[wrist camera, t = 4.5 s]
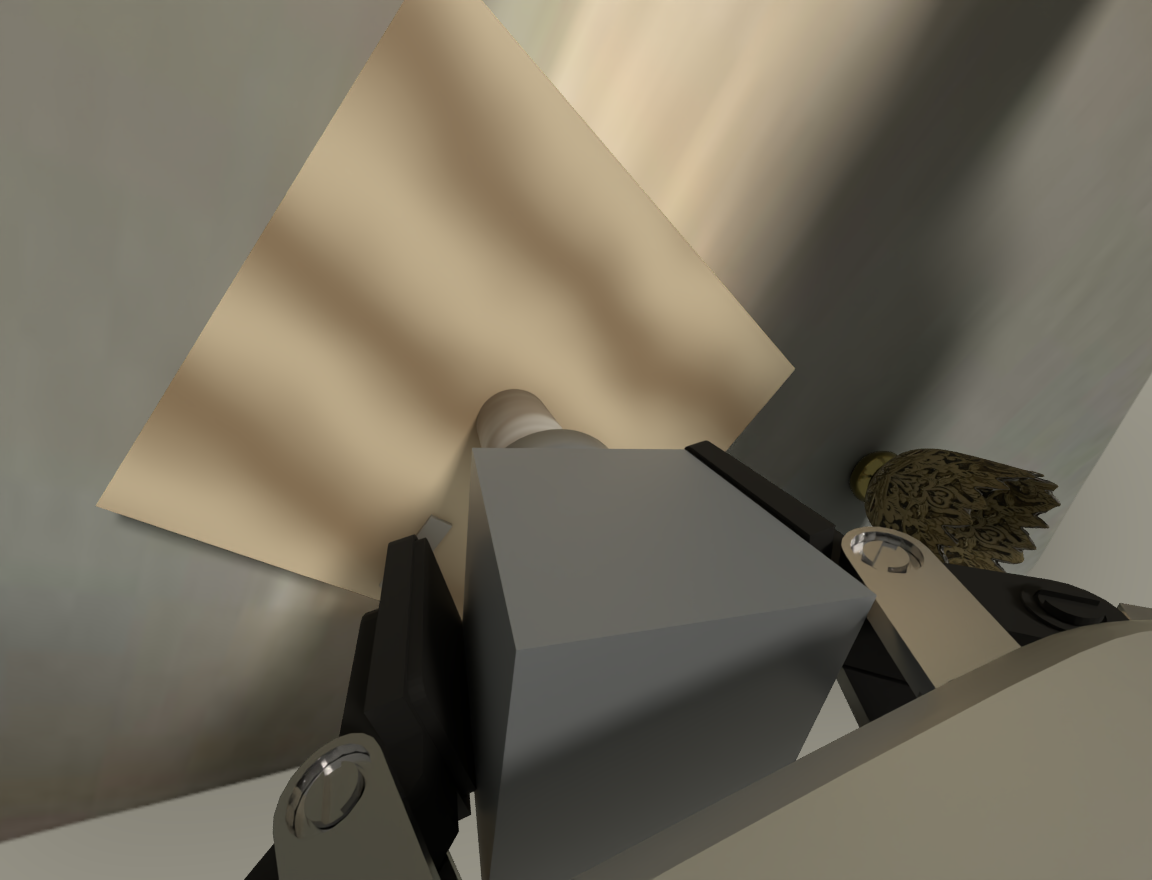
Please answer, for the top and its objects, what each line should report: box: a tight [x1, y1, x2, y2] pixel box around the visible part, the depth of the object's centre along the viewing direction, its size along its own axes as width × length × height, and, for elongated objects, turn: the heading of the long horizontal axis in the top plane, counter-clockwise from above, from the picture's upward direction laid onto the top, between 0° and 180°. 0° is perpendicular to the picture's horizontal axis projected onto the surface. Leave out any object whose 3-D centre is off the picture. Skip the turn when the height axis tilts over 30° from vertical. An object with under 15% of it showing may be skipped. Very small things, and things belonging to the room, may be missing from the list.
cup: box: [850, 449, 1061, 573], centre depth 25 cm, size 8×7×8 cm
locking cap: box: [462, 429, 877, 880], centre depth 10 cm, size 10×5×7 cm, turn 171°
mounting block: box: [96, 0, 795, 620], centre depth 16 cm, size 20×20×8 cm
